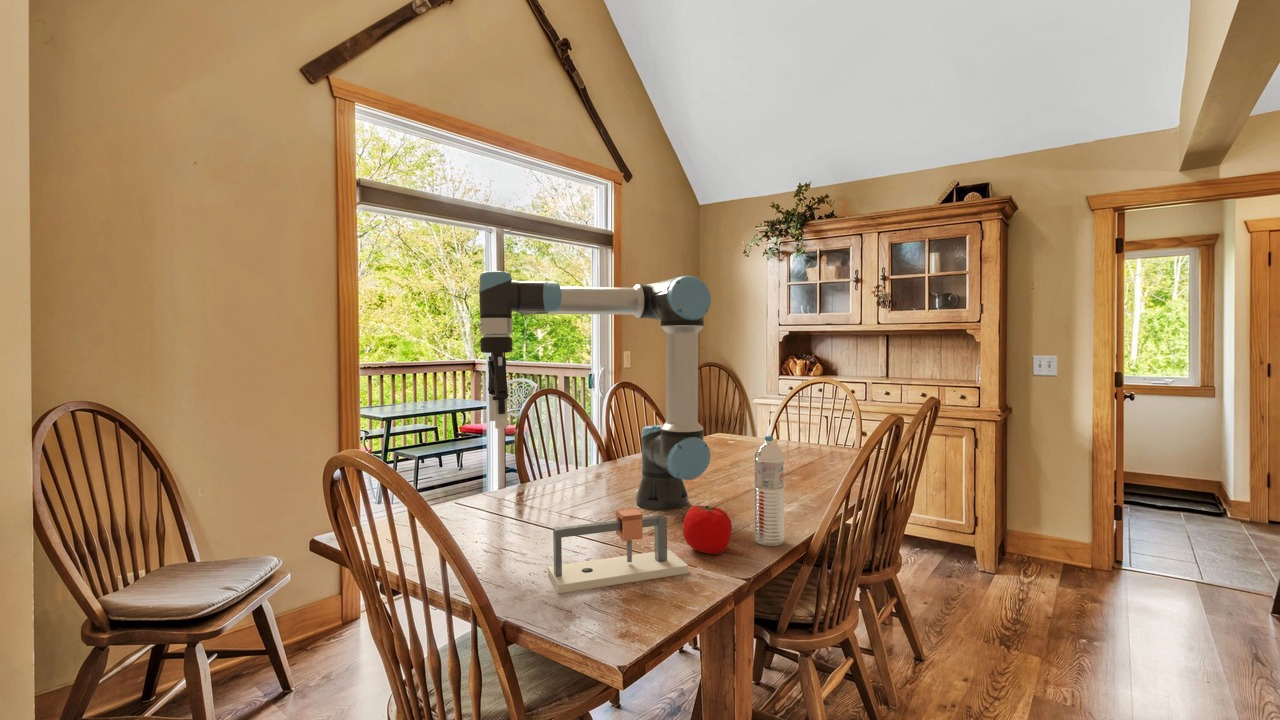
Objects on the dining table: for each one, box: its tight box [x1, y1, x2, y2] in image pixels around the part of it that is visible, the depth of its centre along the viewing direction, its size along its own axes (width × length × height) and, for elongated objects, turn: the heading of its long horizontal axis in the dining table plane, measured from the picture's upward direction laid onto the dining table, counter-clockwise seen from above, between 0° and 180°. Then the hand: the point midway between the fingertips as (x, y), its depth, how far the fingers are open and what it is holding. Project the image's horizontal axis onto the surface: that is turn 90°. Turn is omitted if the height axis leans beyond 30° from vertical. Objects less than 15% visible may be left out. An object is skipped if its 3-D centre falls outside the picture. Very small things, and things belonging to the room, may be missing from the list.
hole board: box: [547, 549, 689, 594], centre depth 123 cm, size 27×10×2 cm, turn 110°
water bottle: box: [753, 435, 785, 547], centre depth 141 cm, size 7×7×25 cm
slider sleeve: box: [615, 507, 643, 562], centre depth 124 cm, size 4×5×10 cm
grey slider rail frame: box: [552, 514, 668, 577], centre depth 122 cm, size 24×2×9 cm, turn 110°
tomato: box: [682, 505, 733, 555], centre depth 136 cm, size 11×13×10 cm
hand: (498, 424), depth 145 cm, fingers open, 13 cm apart
